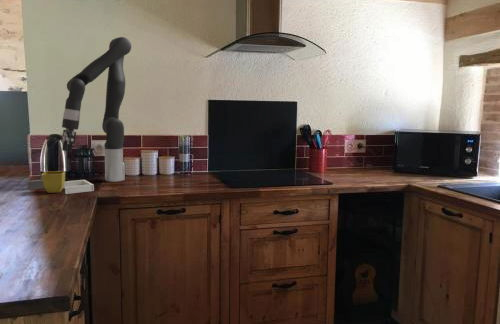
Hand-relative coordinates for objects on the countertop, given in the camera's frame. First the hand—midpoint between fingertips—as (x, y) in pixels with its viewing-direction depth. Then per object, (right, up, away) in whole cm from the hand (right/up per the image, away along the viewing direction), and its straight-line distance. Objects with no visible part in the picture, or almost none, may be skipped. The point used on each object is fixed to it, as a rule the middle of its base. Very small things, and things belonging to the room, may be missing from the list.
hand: (66, 151), depth 202 cm
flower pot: (+1, -19, -14) cm, 24 cm away
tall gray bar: (-10, -18, -6) cm, 21 cm away
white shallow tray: (+8, -18, -8) cm, 22 cm away
